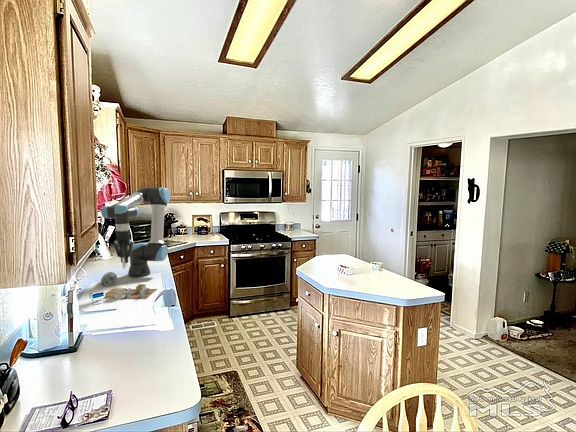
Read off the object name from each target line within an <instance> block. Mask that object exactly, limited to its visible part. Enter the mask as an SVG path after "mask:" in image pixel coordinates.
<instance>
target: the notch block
mask: <svg viewBox="0 0 576 432" xmlns="http://www.w3.org/2000/svg"><path fill="white" fill-rule="evenodd" d="M128 289H129V290H128V291H127V292H125V295H126V298H128V297H130V296H131V289H132V288H131V287H129V288H128ZM149 289H150V288H149V287H146V289H143V290H142V291H140V292H139V297H140V298H142V297H143V296H145V295H147V294H149Z"/></svg>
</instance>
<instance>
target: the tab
mask: <svg viewBox="0 0 576 432" xmlns="http://www.w3.org/2000/svg"><path fill="white" fill-rule="evenodd" d="M146 288H147V284H143V283H142V284H141V283H140V284H138V285H136V286H135V289H136V293H139V292H140V291H142V290H143V289H146Z"/></svg>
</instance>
